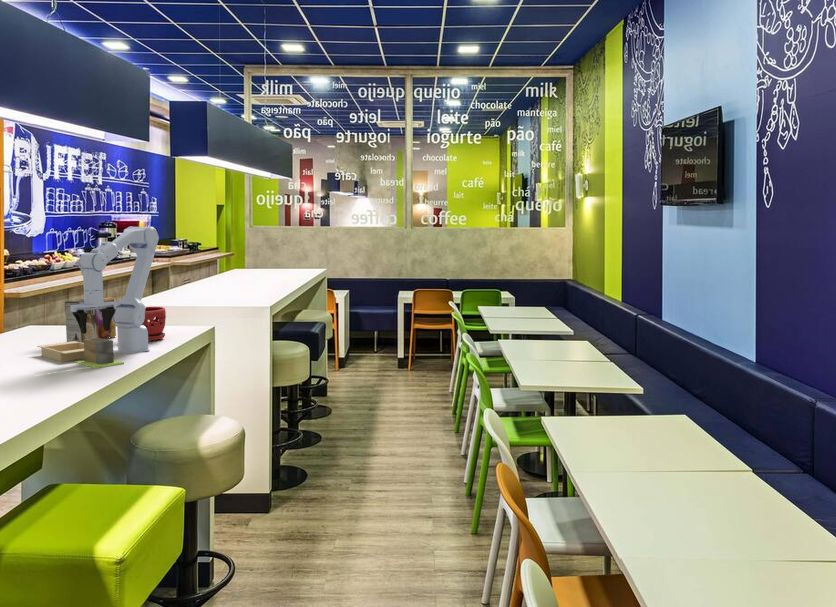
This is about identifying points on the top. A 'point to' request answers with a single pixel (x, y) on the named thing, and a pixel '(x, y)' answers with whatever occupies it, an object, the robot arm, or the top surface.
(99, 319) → the candy box
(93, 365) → the mat
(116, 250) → the robot arm
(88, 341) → the box
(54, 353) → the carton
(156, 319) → the plant pot
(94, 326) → the coffee box
